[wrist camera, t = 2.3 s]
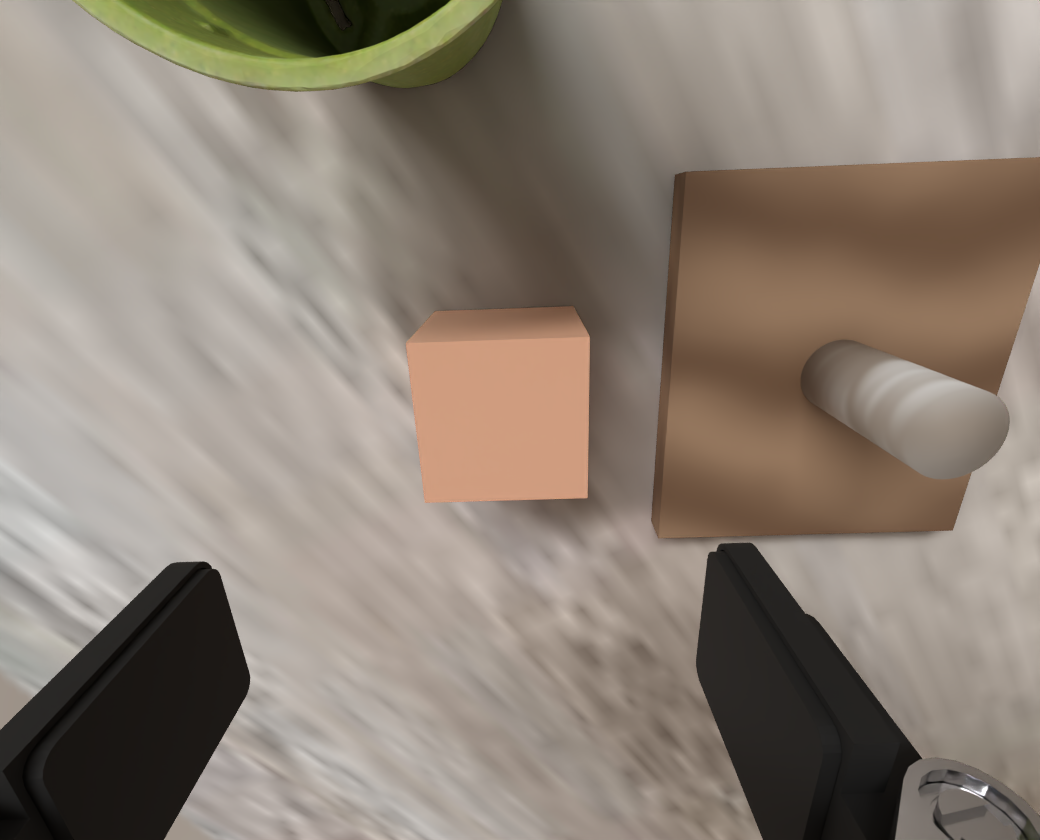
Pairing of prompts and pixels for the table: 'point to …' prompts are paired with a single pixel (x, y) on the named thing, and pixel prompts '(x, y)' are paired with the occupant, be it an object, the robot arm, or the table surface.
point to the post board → (813, 290)
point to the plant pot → (306, 39)
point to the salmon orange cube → (501, 404)
